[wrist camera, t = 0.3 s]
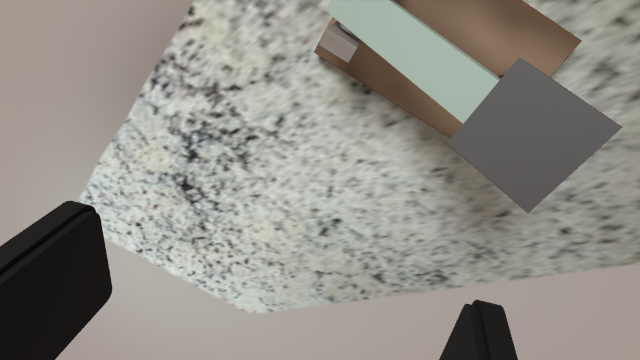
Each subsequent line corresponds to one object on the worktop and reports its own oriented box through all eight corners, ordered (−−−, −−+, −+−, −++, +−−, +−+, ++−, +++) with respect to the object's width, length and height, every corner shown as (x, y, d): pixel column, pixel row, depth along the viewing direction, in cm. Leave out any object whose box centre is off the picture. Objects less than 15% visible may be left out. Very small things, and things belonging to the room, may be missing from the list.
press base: (390, -87, 31) (383, -107, 23) (572, 36, 33) (631, 62, 24) (318, 48, 37) (290, 72, 29) (474, 147, 39) (493, 199, 30)
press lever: (371, -46, 27) (358, -53, 26) (622, 127, 20) (621, 127, 19) (328, 33, 30) (315, 29, 29) (533, 208, 23) (528, 213, 22)
